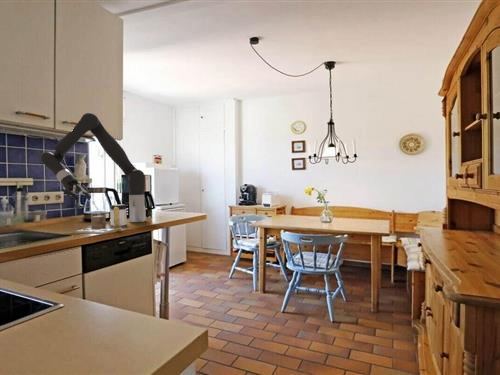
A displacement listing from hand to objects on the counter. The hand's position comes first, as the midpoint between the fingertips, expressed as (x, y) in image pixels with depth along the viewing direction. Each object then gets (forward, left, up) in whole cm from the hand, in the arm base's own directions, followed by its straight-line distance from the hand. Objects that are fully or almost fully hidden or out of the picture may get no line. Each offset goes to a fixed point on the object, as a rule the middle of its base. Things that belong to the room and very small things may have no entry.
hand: (84, 199), depth 178 cm
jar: (-15, +10, -17) cm, 25 cm away
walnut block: (0, +9, -16) cm, 19 cm away
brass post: (0, +21, -16) cm, 27 cm away
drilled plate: (+9, +15, -16) cm, 24 cm away
